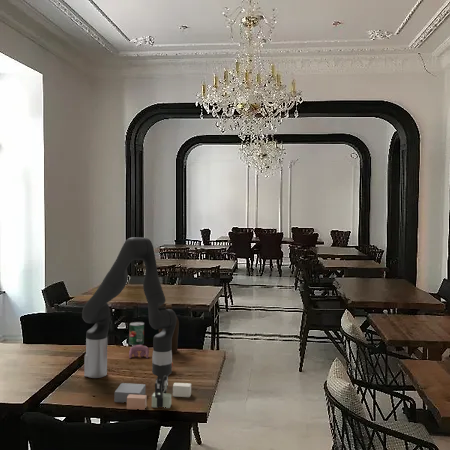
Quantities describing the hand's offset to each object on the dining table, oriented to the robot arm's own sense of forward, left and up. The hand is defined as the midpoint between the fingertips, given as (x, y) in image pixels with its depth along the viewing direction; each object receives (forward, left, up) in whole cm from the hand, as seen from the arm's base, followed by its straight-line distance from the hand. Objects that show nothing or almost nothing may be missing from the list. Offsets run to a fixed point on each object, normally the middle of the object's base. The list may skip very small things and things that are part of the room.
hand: (161, 403), depth 206 cm
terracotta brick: (-9, -3, -1) cm, 10 cm away
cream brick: (+6, +12, -1) cm, 13 cm away
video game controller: (-24, +59, -1) cm, 63 cm away
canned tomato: (-31, +82, -1) cm, 88 cm away
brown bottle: (-11, +70, -1) cm, 71 cm away
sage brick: (0, 0, -1) cm, 1 cm away
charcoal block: (-14, +6, -1) cm, 15 cm away
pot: (-7, +39, -1) cm, 40 cm away
